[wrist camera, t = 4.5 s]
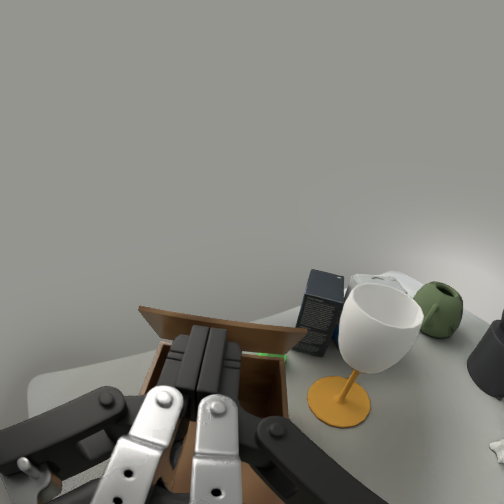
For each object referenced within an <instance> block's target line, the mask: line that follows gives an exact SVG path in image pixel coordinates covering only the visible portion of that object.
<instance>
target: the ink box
mask: <svg viewBox="0 0 504 504" xmlns="http://www.w3.org/2000/svg"><path fill="white" fill-rule="evenodd" d="M364 283H378V284H383V285H386V286H390V287H393V288H395V289H397V290H400V291H402V292H404V293H405V294H407V292H406V291H405V289H404V288H403V287H402V286H401V285H400V283H399V282H398V281H397V280H396V279H395V278H394V277H390V276H378V275H365V274H356V275H355V276H352V277H351V280H350V283H349V286H348V288H347V291H346V294H345V297H344V303H345V302H346V300H347V298H348V296H349V294H350V292H351V291H352V290H353V289H354V288H355V287H356V286H357V285H360V284H364ZM343 307H344V304H343ZM343 307H342V310H341V312H340V315H339V318H338V321H337V323H336V326H335V329H334V331H333V334H332V336H333V338H334V340H335V342H336V344H337V346H338V348H339V342H338V338H339V326H340V318H341V314H342V311H343Z"/></svg>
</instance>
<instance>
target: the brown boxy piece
mask: <svg viewBox="0 0 504 504" xmlns="http://www.w3.org/2000/svg"><path fill="white" fill-rule="evenodd" d="M171 345H172V343H170V342H165V341H161V342H160V344H159V346H158V349H157V351H156V353H155V356H154V358H153V361H152V363H151V366H150V368H149V371H148V373H147V376H146V378H145V381H144V383H143V386H142V388H141V391H140V393H139V396H140V395H145V394H147V393H148V392H149V391H150V390H151V389H152V388H154V387H156V385H157V383H158V380H159V377H160V375H161V372H162V369H163V366H164V364H165V361H166V359H167V355H168V353H169V351H170V347H171ZM238 400H239V403H240V405H241V407H242V408H243V409H244V410H245V411H246V412H248V413H249V414H251V415H254V416H257V417H259V418H262V419H264V418H266V417H269V416H282V417H285V418H287V419H289V415H288V402H287V388H286V375H285V363H284V358H281V357H270V356H259V355H250V354H242V356H241V368H240V380H239V393H238ZM196 427H197V419H196V422H192V421H190V423H189V427H188V432H187V438H186V441H185V444H184V448H183V451H182V454H181V457H180V461H179V464H178V467H177V471H176V477H175V485H174V489H173V493H190V487H191V472H192V460H193V454H194V450H195V438H196ZM241 477H242V503H244V504H285V503H284V502H283V501H282V500H281V499H280V498H279V497H278V496H277V495H276V494H275V493H274V492H273V491H272V490H271V489H270V488H269V487H268V486H267V485H266V484H265V483H264V481H263V480H262V479H261V478H260V477H259V476H258V475H257V474H256V473H255V472H254V471H253V469H252V468H251V467H250V466H249V464H248V463H245V462H242V461H241Z"/></svg>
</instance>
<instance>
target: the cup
mask: <svg viewBox="0 0 504 504" xmlns="http://www.w3.org/2000/svg"><path fill="white" fill-rule="evenodd" d="M423 319H424V315H423V312H422V309H421V307H420V306H419V305H418V304H417V303H416V301H415V300H414V299H412V298H411V297H409V296H408V295H407V294H405V293H404V292H402V291H400V290H397V289H395V288H393V287H390V286H386V285H383V284H378V283H364V284H360V285H357V286H356V287H355V288H354V289H353V290H352V291H351V292H350V294H349V296H348V298H347V300H346V302H345V303H344V307H343V311H342V314H341V318H340V326H339V338H338V342H339V349H340V353H341V355H342V358H343V360H344V361H345V362H346V363H347V364H348V365H349V366H350V367H351V368H352V369H354V370H353V372H352V374H351V376H350V378H349V379H348V378H344V377H339V376H330V377H324V378H322V379H320V380H317V381H316V382H315V383H314V384H313V385H312V386H311V387H310V389H309V393H308V397H307V399H308V403H309V407H310V409H311V411H312V412H313V413H314V414H315V416H316V417H317V418H318V419H320V420H321V421H323V422H325V423H326V424H328V425H331V426H335V427H340V428H345V427H351V426H356V425H357V424H359V423H360V422H362V421H364V420H365V418H366V417H367V415H368V413H369V412H370V399H369V397H368V395H367V392H366V391H365V390H364V389H363V388H362V387H361V386H360V385H359V384H358V383H356V382H355V380H356V378H357V376H358V374H359V373H365V374H375V373H381V372H382V371H384V370H386V369H388V368H389V367H391V366H393V365H394V364H396V363H397V362H398V361H400V360H401V359H402V358H403V357H404V356H405V355H406V354H407V353H408V351H409V350H410V348H411V347H412V345H413V344H414V342H415V341H416V339H417V337H418V334H419V331H420V328H421V325H422V322H423Z"/></svg>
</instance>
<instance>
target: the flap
mask: <svg viewBox="0 0 504 504" xmlns="http://www.w3.org/2000/svg"><path fill="white" fill-rule="evenodd" d="M138 310H139V312H140V313H141V314H142V316H143V317H144V318H145V319H146V321H147V322H148V323H149V325H150V326H151V327H152V328H153V329H154V331H155V332H156V333H157V334H158V336H159V337H160V338H163V339H168V340H175V339H176V338H177V337H178V336H179V335H180V334H182V335H188V336H190V333H191V330H192V327H193V325H198V326H205V327H210V329H211V327H212V328H219V329H227V338H226V341H230V342H238V344H239V346H240V348H241V351H248V352H257V353H267V354H278V355H285V354H286V353H287V352H289V351H290V350H291V349H292V348H293V347H294V346H295V345H296V344H297V343H298V342H299V341H300V340H301V339H302V338H303V337H304V336H305V335H306V334H307V329H304V328H292V327H282V326H272V325H262V324H254V323H245V322H237V321H229V320H222V319H215V318H208V317H202V316H195V315H189V314H183V313H177V312H171V311H165V310H160V309H155V308H149V307H144V306H139V309H138Z"/></svg>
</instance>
